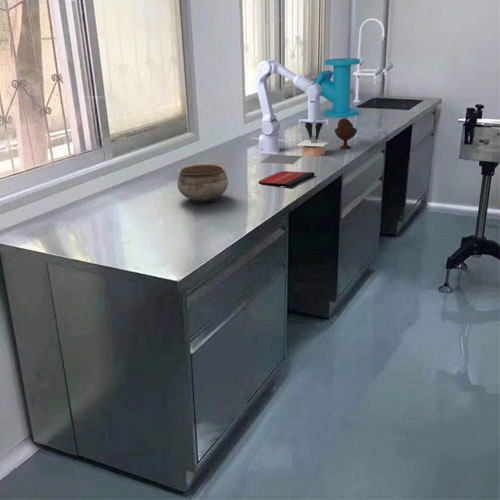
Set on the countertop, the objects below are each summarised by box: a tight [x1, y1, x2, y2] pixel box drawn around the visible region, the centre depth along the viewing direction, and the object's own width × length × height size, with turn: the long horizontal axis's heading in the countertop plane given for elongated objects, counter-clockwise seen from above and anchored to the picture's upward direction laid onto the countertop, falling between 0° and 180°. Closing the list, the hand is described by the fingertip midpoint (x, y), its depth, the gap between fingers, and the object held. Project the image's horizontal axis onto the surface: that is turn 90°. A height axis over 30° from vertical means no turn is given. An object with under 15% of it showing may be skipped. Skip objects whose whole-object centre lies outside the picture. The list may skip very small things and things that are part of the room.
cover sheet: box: [296, 135, 331, 147], centre depth 281 cm, size 13×13×4 cm
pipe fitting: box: [314, 57, 361, 118], centre depth 383 cm, size 22×32×35 cm
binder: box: [258, 170, 315, 190], centre depth 243 cm, size 16×2×21 cm
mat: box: [260, 154, 303, 165], centre depth 275 cm, size 16×16×1 cm
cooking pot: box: [177, 162, 229, 204], centre depth 219 cm, size 25×19×12 cm
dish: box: [302, 145, 326, 157], centre depth 283 cm, size 10×10×4 cm
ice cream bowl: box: [334, 117, 358, 150], centre depth 292 cm, size 11×11×15 cm
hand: (313, 138), depth 281 cm, fingers closed on cover sheet, 2 cm apart
